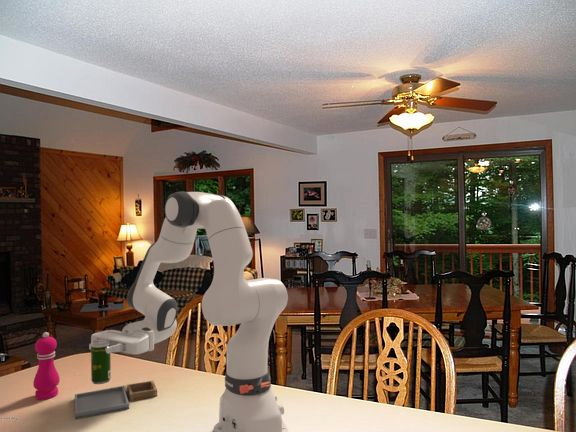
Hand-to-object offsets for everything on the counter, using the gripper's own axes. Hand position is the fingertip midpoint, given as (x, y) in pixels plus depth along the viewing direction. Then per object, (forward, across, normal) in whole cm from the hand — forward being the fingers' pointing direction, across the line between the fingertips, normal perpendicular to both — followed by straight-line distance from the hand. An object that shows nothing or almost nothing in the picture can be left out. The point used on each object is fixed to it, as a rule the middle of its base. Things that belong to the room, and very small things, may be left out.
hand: (98, 349), depth 131 cm
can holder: (-12, +5, +17) cm, 21 cm away
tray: (-1, 0, +17) cm, 17 cm away
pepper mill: (+3, -20, +17) cm, 27 cm away
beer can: (-1, 0, +10) cm, 10 cm away
